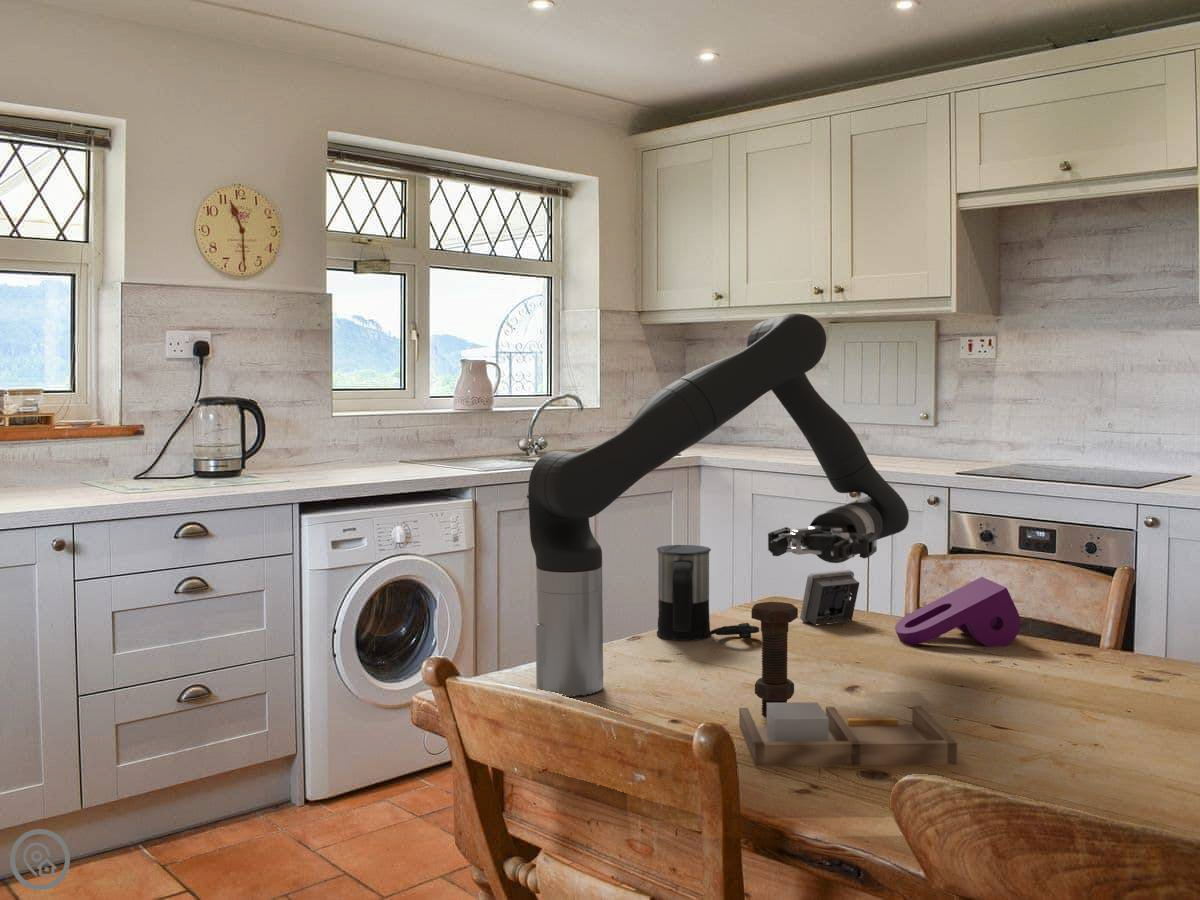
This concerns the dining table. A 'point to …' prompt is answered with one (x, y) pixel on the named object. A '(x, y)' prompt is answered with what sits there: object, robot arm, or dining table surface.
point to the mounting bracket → (965, 616)
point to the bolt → (774, 652)
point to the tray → (856, 742)
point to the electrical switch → (829, 597)
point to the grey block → (796, 722)
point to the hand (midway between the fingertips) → (804, 550)
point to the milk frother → (688, 595)
